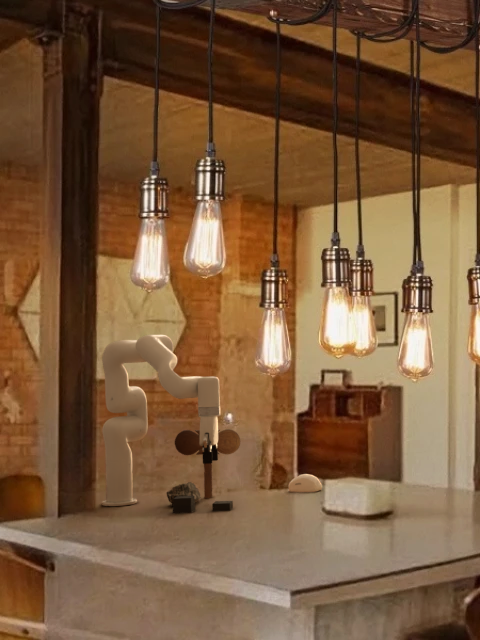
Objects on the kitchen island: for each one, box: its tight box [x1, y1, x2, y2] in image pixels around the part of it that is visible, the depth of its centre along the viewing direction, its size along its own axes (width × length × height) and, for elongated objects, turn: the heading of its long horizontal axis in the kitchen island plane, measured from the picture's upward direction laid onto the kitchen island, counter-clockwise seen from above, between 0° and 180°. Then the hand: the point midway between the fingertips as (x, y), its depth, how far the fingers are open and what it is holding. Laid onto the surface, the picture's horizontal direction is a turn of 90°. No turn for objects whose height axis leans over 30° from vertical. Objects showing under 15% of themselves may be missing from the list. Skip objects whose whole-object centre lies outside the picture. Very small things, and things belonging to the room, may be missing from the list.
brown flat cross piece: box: [174, 428, 241, 499], centre depth 408 cm, size 25×4×45 cm, turn 81°
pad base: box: [172, 502, 196, 514], centre depth 374 cm, size 6×6×2 cm
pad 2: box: [211, 500, 234, 512], centre depth 376 cm, size 6×6×2 cm
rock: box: [166, 481, 202, 506], centre depth 393 cm, size 18×10×10 cm
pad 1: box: [173, 496, 196, 506], centre depth 374 cm, size 6×6×2 cm
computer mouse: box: [287, 473, 323, 493], centre depth 417 cm, size 6×13×6 cm, turn 75°
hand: (210, 462), depth 376 cm, fingers open, 9 cm apart
